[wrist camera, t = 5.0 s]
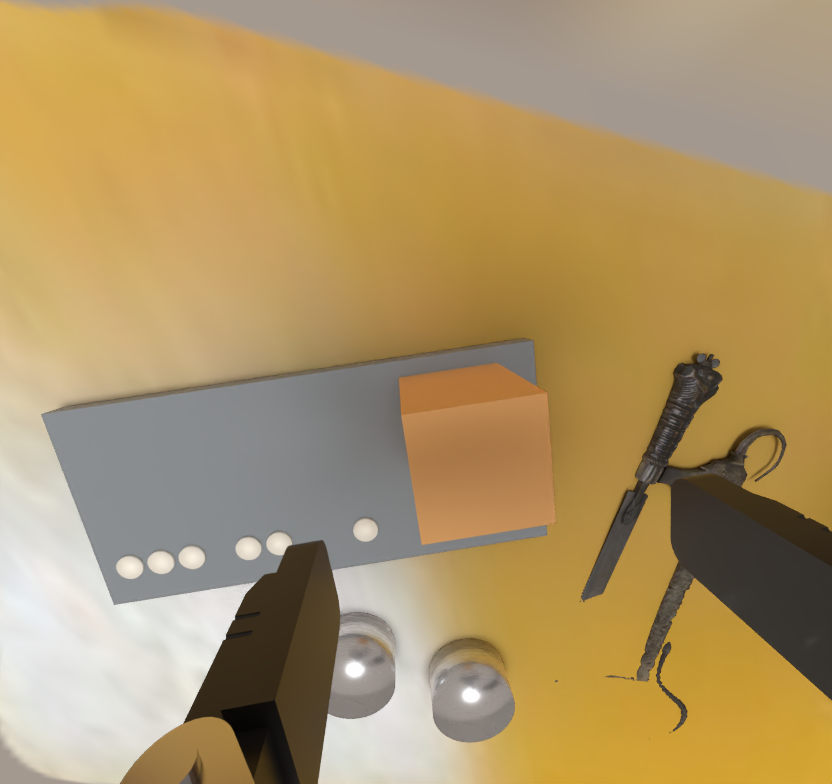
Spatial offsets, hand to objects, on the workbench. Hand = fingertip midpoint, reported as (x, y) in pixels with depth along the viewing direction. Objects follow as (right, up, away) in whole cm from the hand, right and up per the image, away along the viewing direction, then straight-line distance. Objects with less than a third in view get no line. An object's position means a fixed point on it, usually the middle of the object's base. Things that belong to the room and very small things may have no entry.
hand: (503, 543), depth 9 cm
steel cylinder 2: (+1, -13, +14) cm, 19 cm away
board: (-7, 0, +11) cm, 13 cm away
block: (0, +2, +9) cm, 10 cm away
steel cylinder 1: (-5, -11, +13) cm, 18 cm away
